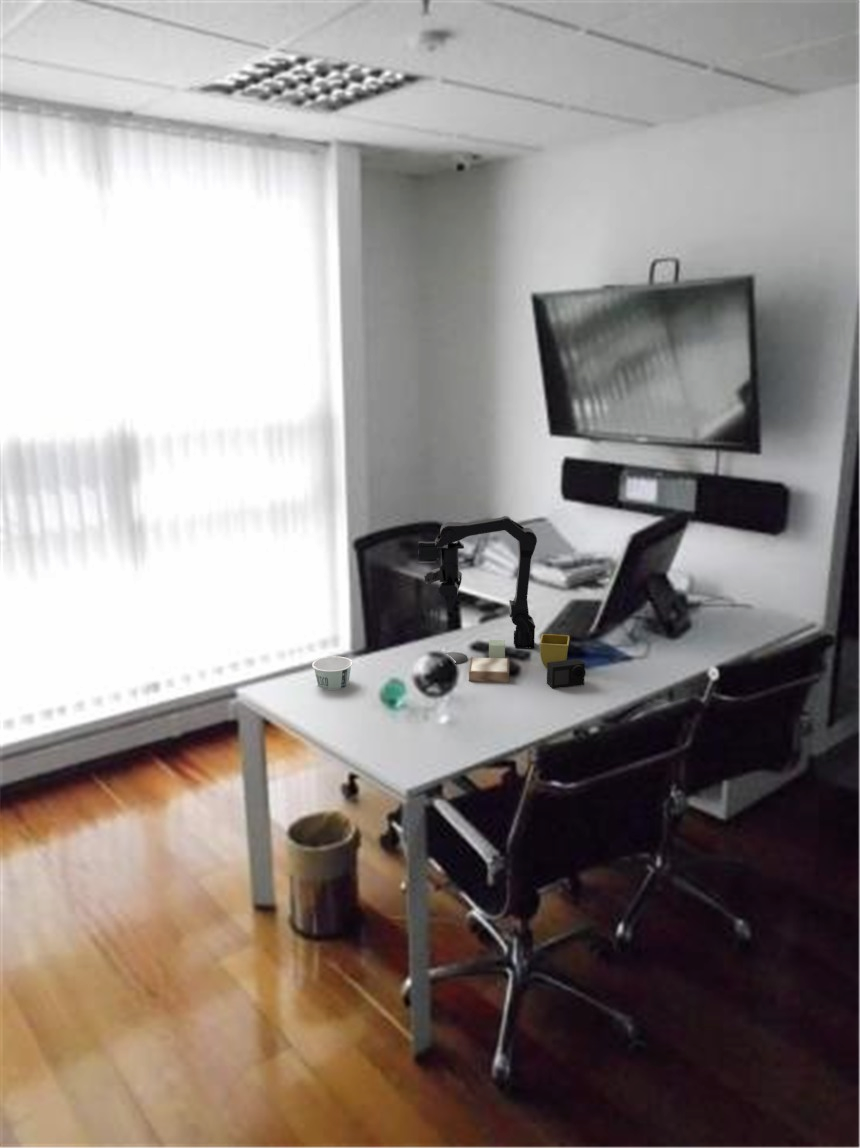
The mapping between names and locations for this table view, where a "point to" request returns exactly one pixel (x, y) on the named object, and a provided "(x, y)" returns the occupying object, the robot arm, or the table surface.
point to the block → (496, 648)
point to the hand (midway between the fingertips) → (450, 607)
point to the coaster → (458, 657)
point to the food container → (332, 672)
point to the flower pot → (553, 648)
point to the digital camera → (565, 673)
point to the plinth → (489, 669)
